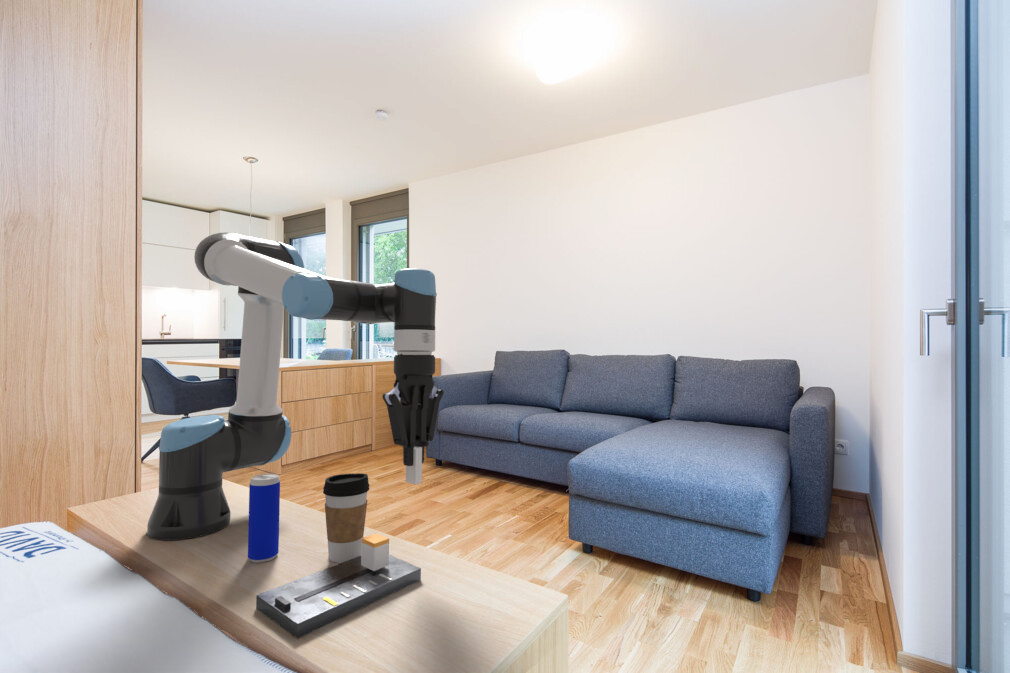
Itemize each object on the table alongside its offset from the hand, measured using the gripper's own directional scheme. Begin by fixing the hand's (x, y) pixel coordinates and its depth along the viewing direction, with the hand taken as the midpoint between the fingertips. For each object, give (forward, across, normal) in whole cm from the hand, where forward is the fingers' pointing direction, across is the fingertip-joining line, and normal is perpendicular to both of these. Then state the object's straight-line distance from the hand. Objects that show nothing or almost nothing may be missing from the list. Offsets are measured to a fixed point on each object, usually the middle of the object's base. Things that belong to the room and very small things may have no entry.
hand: (413, 482), depth 90 cm
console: (+15, -14, 0) cm, 20 cm away
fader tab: (+12, -8, 0) cm, 15 cm away
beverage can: (+15, -16, +24) cm, 32 cm away
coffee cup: (+15, -6, +12) cm, 20 cm away
